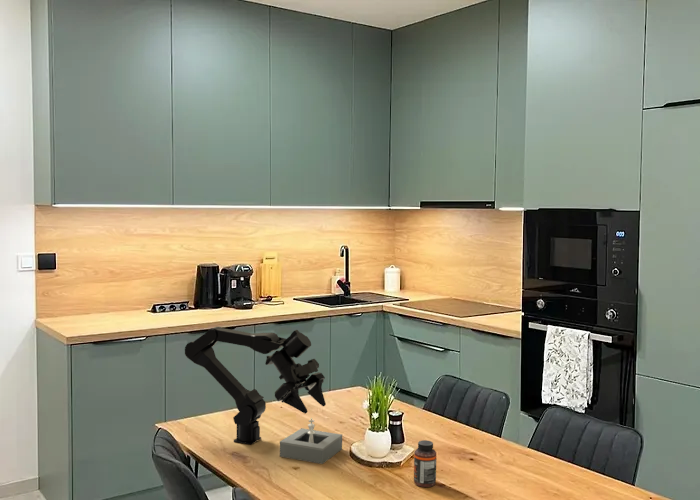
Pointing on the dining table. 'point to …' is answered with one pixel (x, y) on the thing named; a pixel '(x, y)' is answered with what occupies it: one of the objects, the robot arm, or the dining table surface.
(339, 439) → the gray square open box
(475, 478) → the dining table surface
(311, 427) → the chess piece
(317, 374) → the robot arm
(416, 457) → the supplement bottle
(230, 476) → the dining table surface
